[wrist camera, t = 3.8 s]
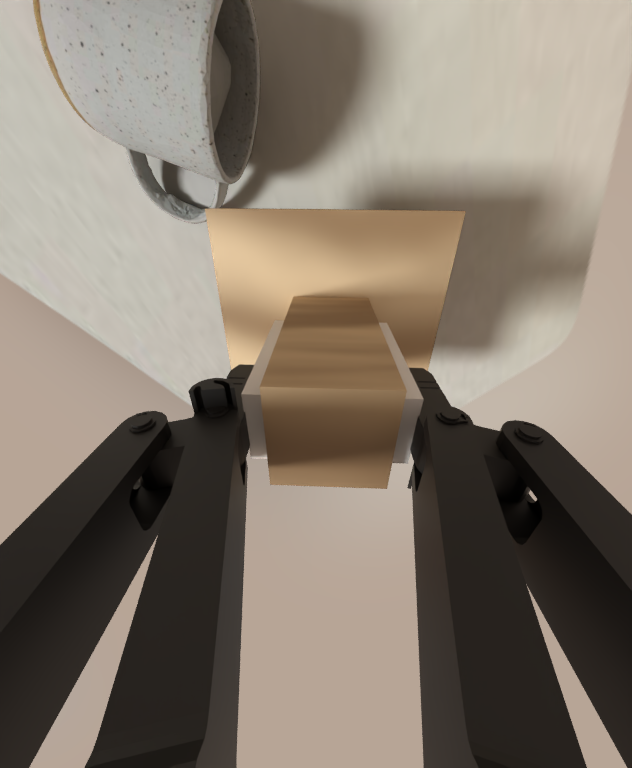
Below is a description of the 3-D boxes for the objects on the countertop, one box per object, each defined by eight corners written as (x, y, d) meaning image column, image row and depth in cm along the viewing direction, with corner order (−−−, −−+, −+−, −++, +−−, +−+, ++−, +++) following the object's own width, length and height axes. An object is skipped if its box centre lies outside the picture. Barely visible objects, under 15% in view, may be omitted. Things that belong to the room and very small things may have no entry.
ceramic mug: (120, -17, 16) (-29, -168, 9) (267, 31, 17) (223, -79, 10) (136, 204, 22) (49, 205, 15) (246, 234, 22) (209, 248, 16)
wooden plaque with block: (213, 208, 15) (47, 216, 6) (455, 210, 14) (649, 223, 6) (243, 403, 21) (182, 544, 12) (411, 408, 21) (471, 556, 12)
